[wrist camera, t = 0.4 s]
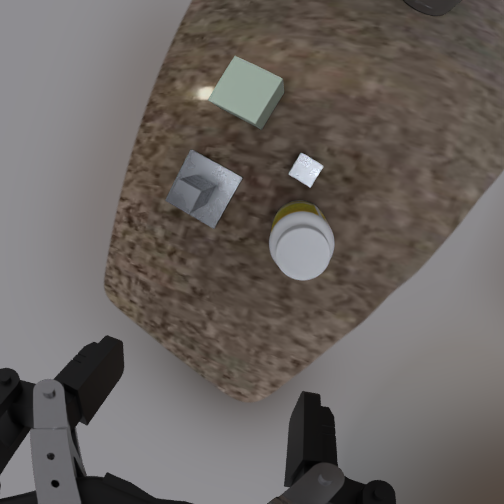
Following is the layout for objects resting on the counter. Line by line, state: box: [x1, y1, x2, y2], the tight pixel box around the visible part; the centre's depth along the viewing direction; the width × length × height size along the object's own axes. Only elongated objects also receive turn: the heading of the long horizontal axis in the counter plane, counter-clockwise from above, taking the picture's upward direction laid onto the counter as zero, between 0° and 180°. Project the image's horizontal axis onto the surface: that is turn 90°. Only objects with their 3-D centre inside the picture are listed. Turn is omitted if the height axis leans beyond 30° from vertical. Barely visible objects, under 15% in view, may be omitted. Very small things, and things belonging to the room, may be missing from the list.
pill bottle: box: [269, 200, 334, 280], centre depth 31 cm, size 6×6×11 cm
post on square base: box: [165, 149, 243, 229], centre depth 33 cm, size 7×7×7 cm
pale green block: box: [208, 56, 284, 130], centre depth 29 cm, size 5×5×7 cm
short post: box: [289, 153, 323, 187], centre depth 32 cm, size 3×3×4 cm
